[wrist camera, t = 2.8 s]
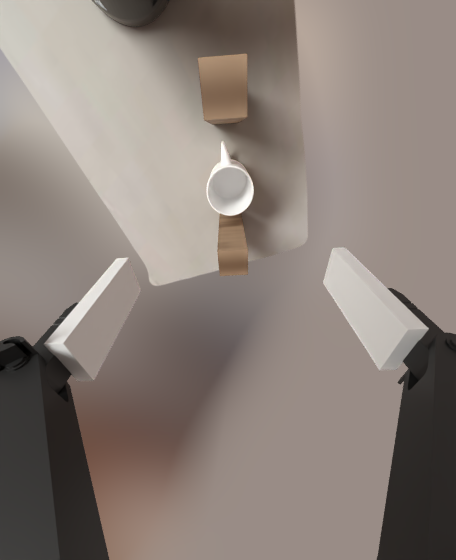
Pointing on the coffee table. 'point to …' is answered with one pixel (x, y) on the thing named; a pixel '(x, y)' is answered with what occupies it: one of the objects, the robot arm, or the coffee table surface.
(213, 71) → the post near
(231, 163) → the mug
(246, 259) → the post far
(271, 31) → the coffee table surface
